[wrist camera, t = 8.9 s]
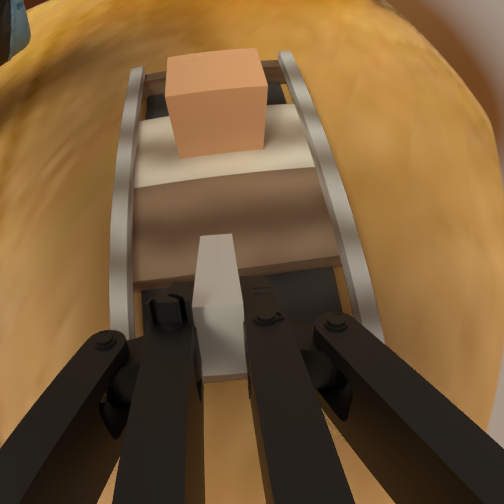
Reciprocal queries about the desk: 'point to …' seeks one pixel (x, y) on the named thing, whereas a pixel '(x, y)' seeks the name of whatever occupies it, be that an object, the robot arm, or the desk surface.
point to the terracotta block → (216, 101)
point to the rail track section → (234, 208)
